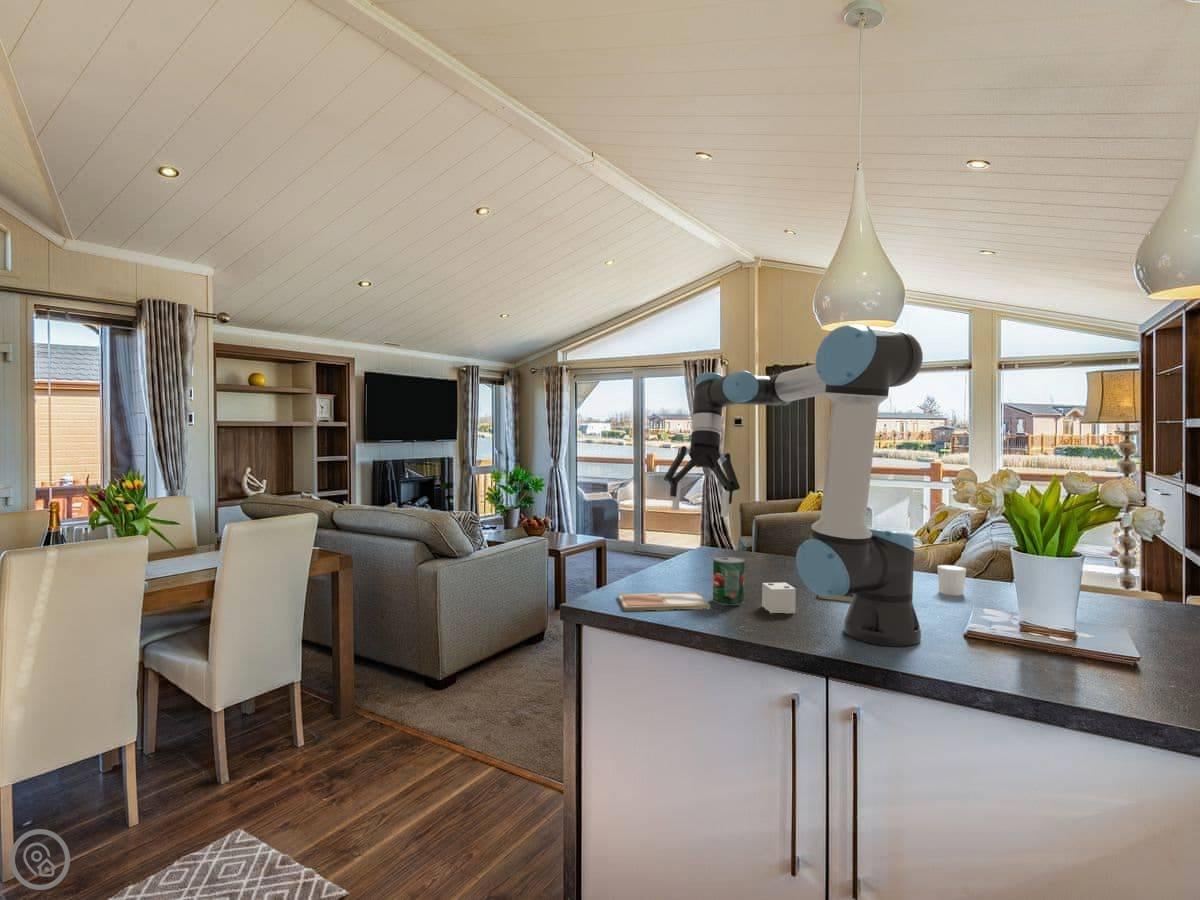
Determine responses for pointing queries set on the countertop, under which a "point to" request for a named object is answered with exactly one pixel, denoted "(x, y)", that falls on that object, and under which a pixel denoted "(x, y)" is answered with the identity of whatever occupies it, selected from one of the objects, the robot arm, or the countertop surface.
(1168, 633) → the countertop surface
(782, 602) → the die
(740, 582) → the canned tomato
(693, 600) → the game board
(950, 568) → the white short cylinder
